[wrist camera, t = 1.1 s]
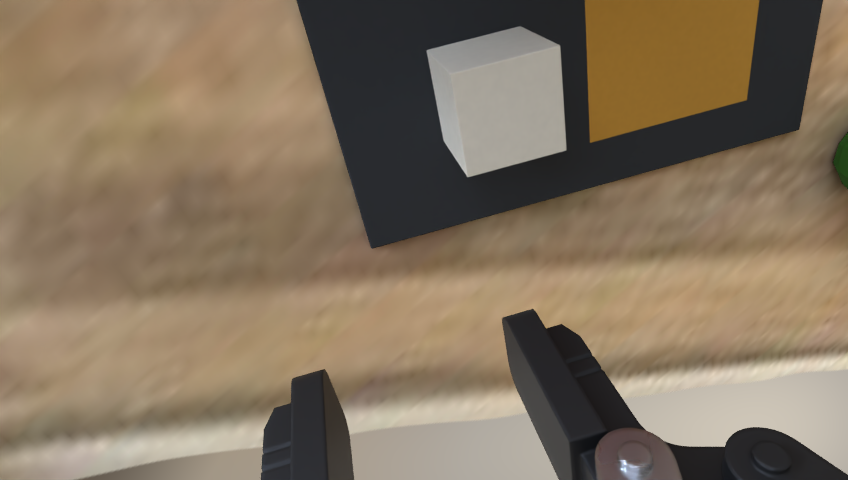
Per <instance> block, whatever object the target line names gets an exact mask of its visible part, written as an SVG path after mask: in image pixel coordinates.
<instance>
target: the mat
mask: <svg viewBox="0 0 848 480" xmlns="http://www.w3.org/2000/svg"><path fill="white" fill-rule="evenodd" d="M822 2H823V0H297V3H298V6H299V10H300V13H301V16H302V20H303V23H304V26H305V30H306V33H307V36H308V40H309V43H310V46H311V50H312V53H313V56H314V60H315V63H316V66H317V70H318V73H319V76H320V80H321V83H322V86H323V90H324V93H325V96H326V99H327V103H328V106H329V109H330V113H331V116H332V119H333V123H334V126H335V129H336V133H337V136H338V139H339V143H340V146H341V149H342V153H343V156H344V159H345V163H346V166H347V169H348V173H349V176H350V179H351V182H352V186H353V189H354V192H355V196H356V199H357V202H358V206H359V209H360V212H361V216H362V219H363V222H364V226H365V229H366V232H367V236H368V239H369V242H370V246H371V248H376V247H380V246H383V245H387V244H390V243H394V242H398V241H401V240H405V239H408V238H412V237H415V236H419V235H423V234H426V233H430V232H433V231H437V230H441V229H444V228H448V227H451V226H455V225H459V224H462V223H466V222H469V221H473V220H476V219H480V218H484V217H487V216H491V215H494V214H498V213H502V212H505V211H509V210H512V209H516V208H520V207H523V206H527V205H530V204H534V203H537V202H541V201H545V200H548V199H552V198H555V197H559V196H563V195H566V194H570V193H573V192H577V191H581V190H584V189H588V188H591V187H595V186H598V185H602V184H606V183H609V182H613V181H616V180H620V179H624V178H627V177H631V176H634V175H638V174H642V173H645V172H649V171H652V170H656V169H659V168H663V167H667V166H670V165H674V164H677V163H681V162H685V161H688V160H692V159H695V158H699V157H703V156H706V155H710V154H713V153H717V152H720V151H724V150H728V149H731V148H735V147H738V146H742V145H746V144H749V143H753V142H756V141H760V140H764V139H767V138H771V137H774V136H778V135H781V134H785V133H789V132H792V131H796V130H799V127H800V122H801V116H802V111H803V106H804V100H805V95H806V89H807V84H808V78H809V73H810V68H811V62H812V57H813V51H814V46H815V40H816V35H817V30H818V24H819V19H820V13H821V8H822ZM519 26H521V27H523V28H525V29H527V30H529V31H531V32H533V33H535V34H538V35H540V36H542V37H544V38H546V39H548V40H550V41H552V42H554V43H556V44H558V45H560V50H561V66H562V83H563V99H564V116H565V132H566V149H567V150H566V151H563V152H559V153H555V154H552V155H548V156H544V157H541V158H537V159H533V160H530V161H526V162H522V163H519V164H515V165H511V166H508V167H504V168H500V169H497V170H493V171H489V172H486V173H482V174H478V175H475V176H471V177H467V176H466V174H465V173H464V171H463V170H462V168H461V166H460V165H459V163H458V162H457V160H456V159H455V157H454V156H453V154H452V153H451V151H450V150H449V148H448V147H447V145H446V144H445V142H444V140H443V135H442V130H441V124H440V119H439V114H438V108H437V103H436V98H435V93H434V87H433V82H432V77H431V72H430V66H429V61H428V56H427V50H429V49H433V48H437V47H441V46H445V45H449V44H452V43H456V42H460V41H464V40H468V39H472V38H476V37H480V36H484V35H488V34H492V33H495V32H499V31H503V30H507V29H511V28H515V27H519Z"/></svg>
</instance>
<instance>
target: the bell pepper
mask: <svg viewBox="0 0 848 480" xmlns="http://www.w3.org/2000/svg"><path fill="white" fill-rule="evenodd" d="M833 163H834V166H835V168H836V170H837V172H838V174H839V177H840V179H841V182H842V184H843V185H844V186H845V187H846V188H847V189H848V132H847V134H846V135H845V136H844V138H843V139H842V140H841V142H840V143H839V145H838V149H837V152H836V155H835V158H834V161H833Z"/></svg>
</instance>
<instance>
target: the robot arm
mask: <svg viewBox="0 0 848 480" xmlns="http://www.w3.org/2000/svg"><path fill="white" fill-rule="evenodd" d="M502 323H503V330H504V336H505V343H506V349H507V355H508V362H509V367H510V371H511V374H512V377H513V380H514V383H515V386H516V388H517V391H518V393H519V395H520V397H521V399H522V401H523V403H524V406H525V408H526V410H527V412H528V414H529V416H530V418H531V421H532V423H533V425H534V427H535V429H536V431H537V434H538V436H539V438H540V440H541V442H542V444H543V446H544V449H545V451H546V453H547V455H548V457H549V459H550V461H551V464H552V466H553V468H554V470H555V472H556V474H557V476H558V479H559V480H848V475H847V474H846V473H844V472H843V471H841V470H840V469H838V468H837V467H835V466H834V465H832V464H831V463H829V462H828V461H826V460H825V459H823V458H822V457H820V456H819V455H817V454H816V453H814V452H813V451H812V450H810V449H809V448H807V447H806V446H804V445H803V444H801V443H800V442H798V441H796V440H795V439H793V438H792V437H790V436H788V435H786V434H784V433H782V432H779V431H776V430H772V429H768V428H759V427H758V428H757V427H753V428H746V429H742V430H739V431H737V432H736V433H734V434H733V435H732V436H731V437H730V438H729V439H728V441H727V442H726V445H725V447H687V446H678V445H674V444H670V443H667V442H664V441H663V440H662V439H660V438H659V437H657V436H656V435H654V434H653V433H650V432H648V431H646V430H645V429H644V428H643V427H642V426H641V425H640V424H639V422H638V421H637V420H636V418H635V417H634V415H633V414H632V412H631V411H630V409H629V408H628V406H627V405H626V403H625V402H624V400H623V399H622V397H621V396H620V394H619V393H618V391H617V390H616V389H615V387H614V386H613V384H612V383H611V381H610V380H609V378H608V377H607V375H606V374H605V372H604V371H603V370H602V369H601V366H600V365H599V363H598V362H597V360H596V359H595V357H594V356H592V353H591V352H590V350H589V349H588V347H587V346H586V344H585V343H584V341H583V340H582V338H581V337H580V336H579V335H578V334H576V333H574V332H573V331H571V330H570V329H568V328H567V327H565V326H564V325H562V324H560V325H557V326H553V327H550V328H547V329H546V328H545V326H544V325H543V323H542V321H541V320H540V318H539V316H538V315H537V313H536V312H535V311H534V310H533V309H531V310H527V311H524V312H520V313H517V314H514V315H510V316H507V317H503V318H502ZM263 453H264V454H263V455H262V473H261V480H354V475H353V464H352V454H351V446H350V436H349V431H348V426H347V422H346V419H345V415H344V413H343V410H342V408H341V405H340V403H339V400H338V398H337V396H336V393H335V391H334V388H333V386H332V383H331V381H330V379H329V376H328V374H327V372H326V370H325V369H323V370H320V371H316V372H313V373H309V374H306V375H302V376H299V377H296V378H293V379H292V383H291V403H290V404H287V405H283V406H280V407H276V408H274V410H273V412H272V414H271V416H270V418H269V420H268V422H267V424H266V426H265V429H264V439H263Z"/></svg>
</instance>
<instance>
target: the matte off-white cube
mask: <svg viewBox="0 0 848 480" xmlns="http://www.w3.org/2000/svg"><path fill="white" fill-rule="evenodd" d="M427 56H428V61H429V66H430V72H431V77H432V82H433V87H434V93H435V98H436V103H437V108H438V114H439V119H440V124H441V130H442V135H443V140H444V142H445V144H446V145H447V147H448V148H449V150H450V151H451V153H452V154H453V156H454V157H455V159H456V160H457V162H458V163H459V165H460V166H461V168H462V170H463V171H464V173H465V174H466V176H467V177H471V176H475V175H478V174H482V173H486V172H489V171H493V170H497V169H500V168H504V167H508V166H511V165H515V164H519V163H522V162H526V161H530V160H533V159H537V158H541V157H544V156H548V155H552V154H555V153H559V152H563V151H566V150H567V149H566V132H565V116H564V99H563V83H562V66H561V50H560V45H558V44H556V43H554V42H552V41H550V40H548V39H546V38H544V37H542V36H540V35H538V34H535V33H533V32H531V31H529V30H527V29H525V28H523V27H521V26H519V27H515V28H511V29H507V30H503V31H499V32H495V33H492V34H488V35H484V36H480V37H476V38H472V39H468V40H464V41H460V42H456V43H452V44H449V45H445V46H441V47H437V48H433V49H429V50H427Z"/></svg>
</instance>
